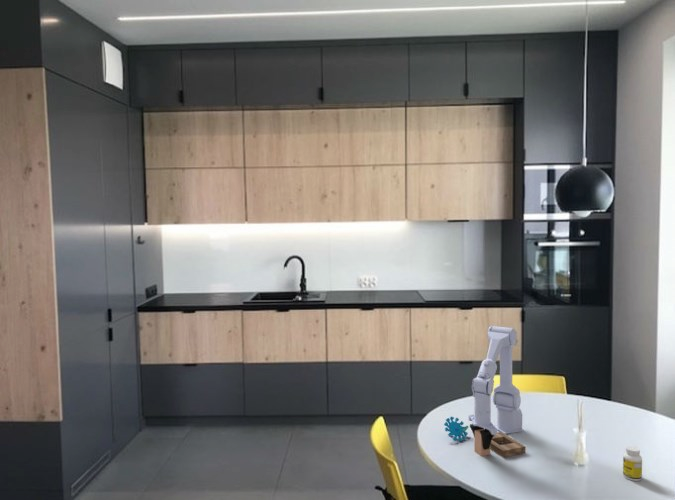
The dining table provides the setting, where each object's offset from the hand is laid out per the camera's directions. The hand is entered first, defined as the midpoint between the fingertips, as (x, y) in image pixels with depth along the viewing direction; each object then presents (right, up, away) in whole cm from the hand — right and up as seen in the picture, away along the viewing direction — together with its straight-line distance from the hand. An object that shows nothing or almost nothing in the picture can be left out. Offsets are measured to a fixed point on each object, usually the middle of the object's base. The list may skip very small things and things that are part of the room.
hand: (482, 446), depth 185 cm
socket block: (+9, -2, +4) cm, 10 cm away
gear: (-6, -2, +13) cm, 15 cm away
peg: (0, -2, 0) cm, 2 cm away
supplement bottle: (+44, -3, -19) cm, 48 cm away
